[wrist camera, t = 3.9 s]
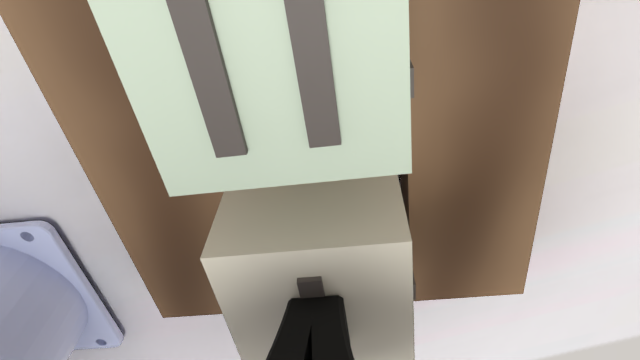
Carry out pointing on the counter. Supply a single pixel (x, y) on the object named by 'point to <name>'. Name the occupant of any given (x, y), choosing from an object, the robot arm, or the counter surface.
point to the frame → (417, 188)
